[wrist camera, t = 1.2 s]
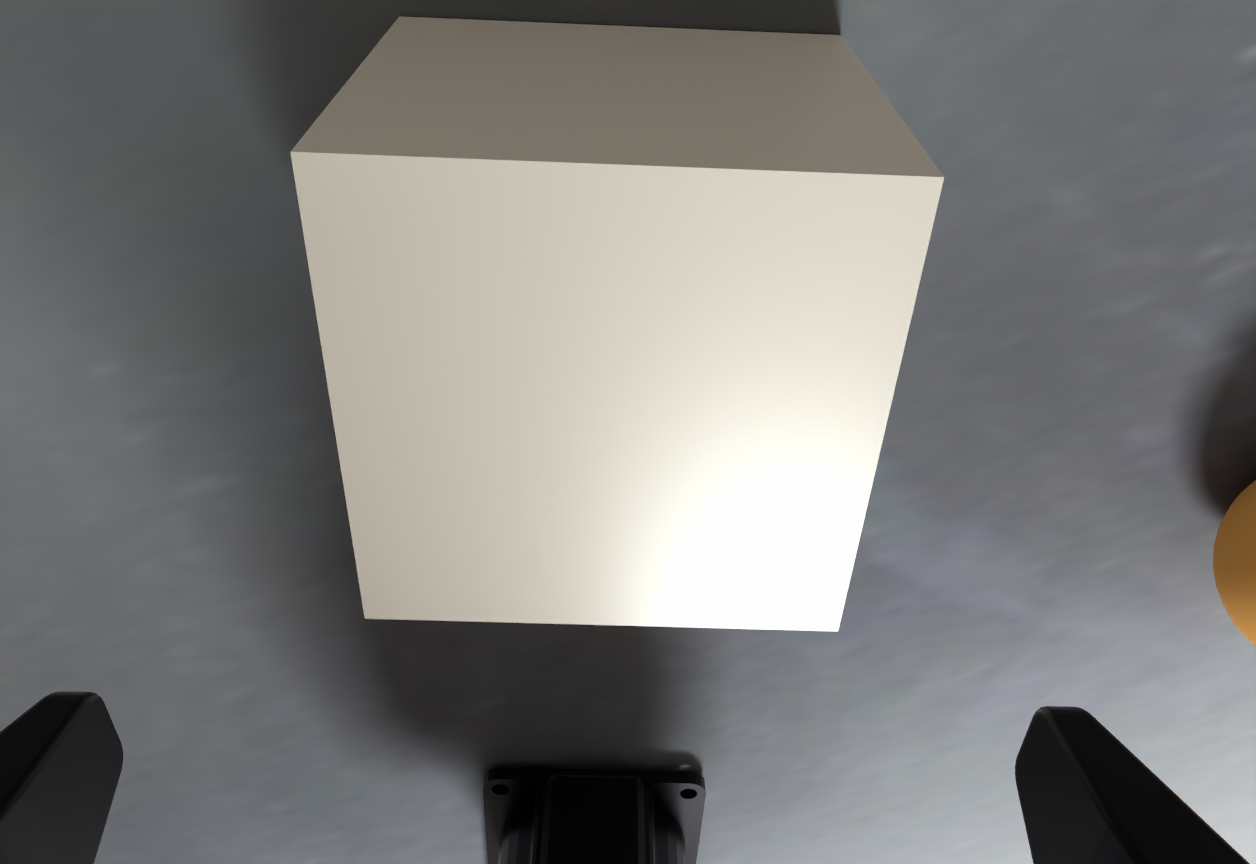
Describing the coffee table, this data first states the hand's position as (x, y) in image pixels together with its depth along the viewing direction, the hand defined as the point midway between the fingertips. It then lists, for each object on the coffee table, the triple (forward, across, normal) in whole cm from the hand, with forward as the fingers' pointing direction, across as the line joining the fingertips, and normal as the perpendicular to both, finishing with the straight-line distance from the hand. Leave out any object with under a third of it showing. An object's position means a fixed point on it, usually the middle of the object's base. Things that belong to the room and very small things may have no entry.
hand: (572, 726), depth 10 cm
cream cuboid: (+12, 0, 0) cm, 12 cm away
